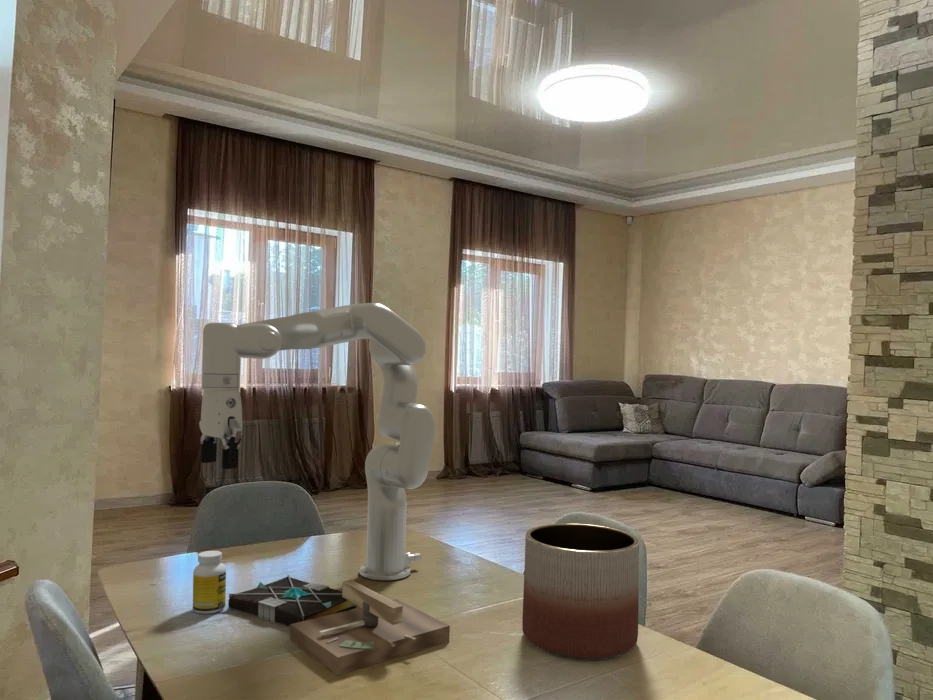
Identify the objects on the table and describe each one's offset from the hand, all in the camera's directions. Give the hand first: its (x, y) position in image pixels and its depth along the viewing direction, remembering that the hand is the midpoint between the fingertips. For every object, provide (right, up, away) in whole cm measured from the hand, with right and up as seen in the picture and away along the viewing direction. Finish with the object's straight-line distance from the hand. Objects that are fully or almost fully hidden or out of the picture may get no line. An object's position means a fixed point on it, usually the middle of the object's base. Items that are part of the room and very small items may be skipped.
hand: (218, 465), depth 147 cm
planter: (+73, -33, -9) cm, 80 cm away
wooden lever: (+30, -28, -15) cm, 43 cm away
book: (+15, -31, +3) cm, 35 cm away
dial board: (+33, -31, -13) cm, 47 cm away
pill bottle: (-2, -31, +1) cm, 31 cm away
